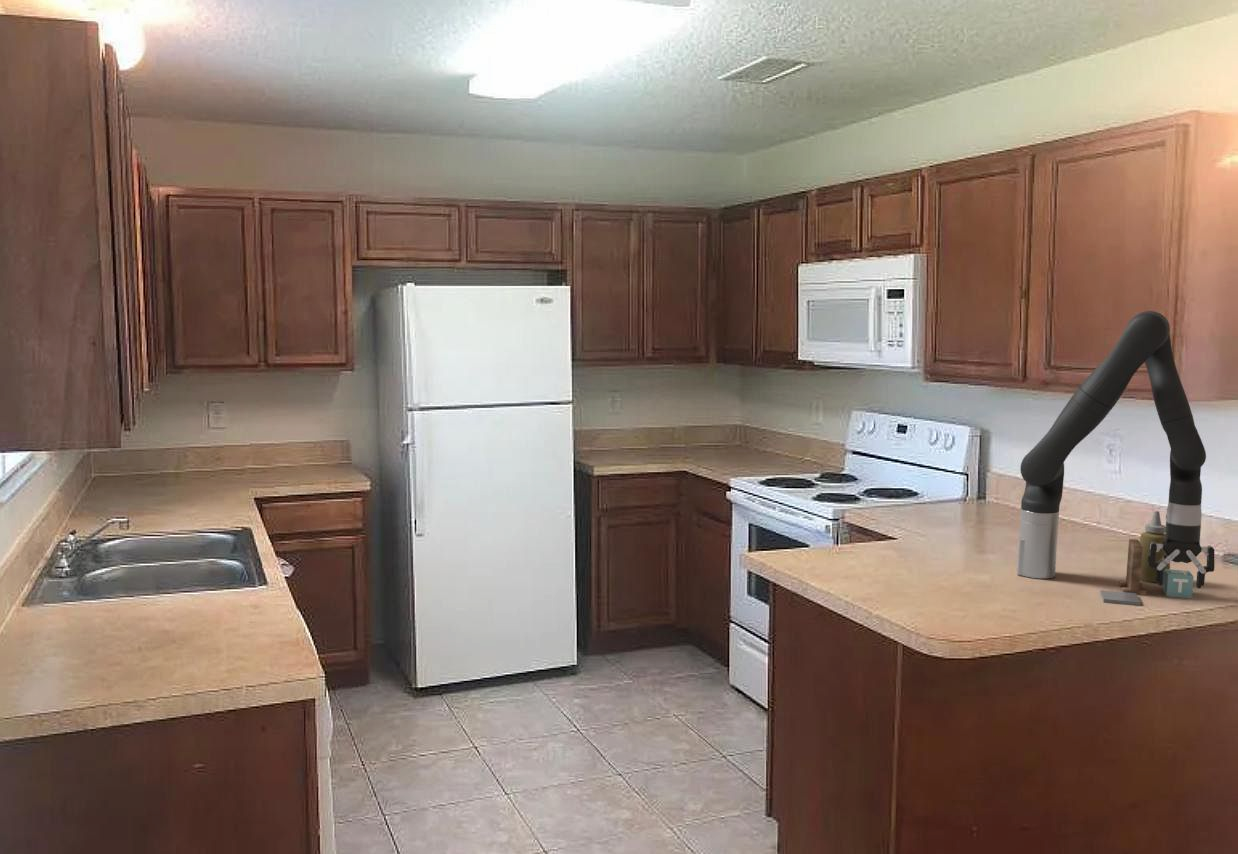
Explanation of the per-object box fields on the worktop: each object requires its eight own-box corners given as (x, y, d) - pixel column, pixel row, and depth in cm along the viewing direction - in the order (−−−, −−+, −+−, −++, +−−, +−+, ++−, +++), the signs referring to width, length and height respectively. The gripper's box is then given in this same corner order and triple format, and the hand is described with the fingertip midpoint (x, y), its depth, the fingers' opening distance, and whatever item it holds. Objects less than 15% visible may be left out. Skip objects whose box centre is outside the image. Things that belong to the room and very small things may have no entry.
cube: (1166, 596, 253) (1168, 573, 252) (1162, 590, 259) (1164, 568, 258) (1192, 598, 251) (1193, 576, 251) (1187, 592, 257) (1189, 570, 256)
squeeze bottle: (1158, 575, 272) (1163, 508, 269) (1175, 584, 264) (1181, 514, 261) (1127, 575, 271) (1132, 508, 269) (1144, 584, 263) (1149, 514, 261)
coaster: (1103, 602, 248) (1103, 598, 248) (1099, 593, 255) (1100, 590, 255) (1140, 605, 245) (1140, 602, 245) (1135, 596, 253) (1135, 593, 253)
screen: (1123, 593, 255) (1126, 545, 254) (1119, 584, 263) (1122, 538, 261) (1145, 595, 254) (1149, 547, 252) (1141, 586, 261) (1144, 540, 260)
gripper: (1153, 522, 251) (1149, 587, 253) (1219, 526, 247) (1215, 592, 249) (1148, 516, 258) (1144, 579, 260) (1213, 520, 254) (1208, 584, 256)
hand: (1179, 586), depth 254 cm, fingers open, 8 cm apart
